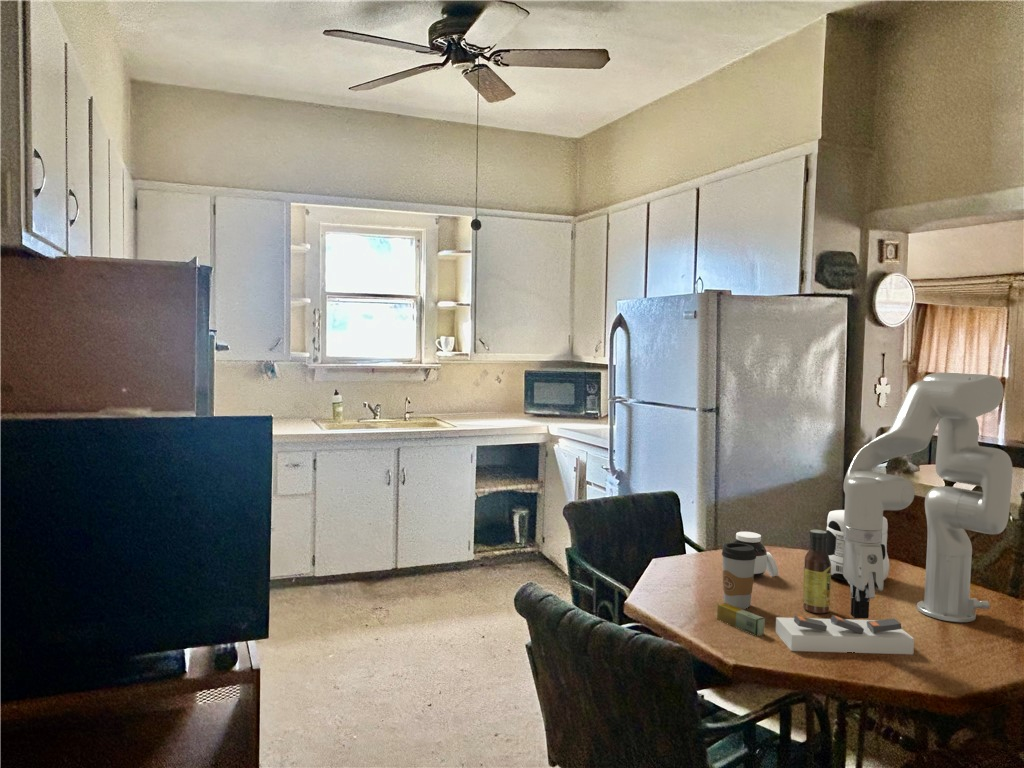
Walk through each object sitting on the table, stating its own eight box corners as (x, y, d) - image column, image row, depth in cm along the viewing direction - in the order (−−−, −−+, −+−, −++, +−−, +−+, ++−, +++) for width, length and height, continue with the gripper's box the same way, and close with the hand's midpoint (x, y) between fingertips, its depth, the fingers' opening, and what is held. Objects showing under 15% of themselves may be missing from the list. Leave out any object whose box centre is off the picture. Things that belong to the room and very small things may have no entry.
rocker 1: (820, 626, 160) (821, 620, 160) (825, 631, 157) (827, 625, 157) (793, 620, 160) (794, 614, 160) (798, 626, 157) (799, 620, 157)
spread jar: (724, 571, 210) (725, 531, 210) (752, 566, 216) (754, 527, 215) (756, 583, 200) (757, 542, 199) (784, 578, 205) (786, 537, 205)
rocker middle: (856, 628, 160) (858, 623, 160) (862, 634, 157) (864, 628, 157) (830, 619, 160) (832, 614, 160) (836, 625, 157) (838, 619, 157)
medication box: (765, 635, 165) (765, 617, 165) (757, 637, 164) (758, 619, 163) (723, 618, 175) (724, 601, 175) (715, 619, 174) (716, 603, 173)
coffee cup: (712, 602, 185) (714, 544, 184) (737, 597, 189) (739, 540, 188) (736, 613, 178) (738, 553, 177) (761, 608, 181) (763, 549, 180)
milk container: (875, 570, 213) (878, 510, 212) (898, 590, 196) (901, 525, 195) (814, 567, 216) (816, 507, 215) (831, 586, 199) (834, 521, 198)
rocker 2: (894, 623, 160) (893, 617, 160) (901, 628, 157) (900, 622, 157) (867, 627, 160) (866, 621, 160) (873, 632, 157) (873, 626, 157)
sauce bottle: (832, 616, 177) (835, 535, 176) (805, 613, 178) (808, 534, 177) (826, 606, 183) (829, 529, 182) (800, 604, 185) (803, 527, 183)
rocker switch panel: (890, 635, 165) (890, 619, 165) (913, 654, 155) (914, 637, 155) (775, 632, 166) (776, 616, 166) (791, 650, 156) (791, 634, 156)
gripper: (897, 544, 150) (893, 631, 151) (864, 525, 165) (861, 604, 166) (860, 544, 150) (857, 630, 151) (831, 525, 165) (828, 604, 166)
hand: (859, 616), depth 159 cm, fingers closed
